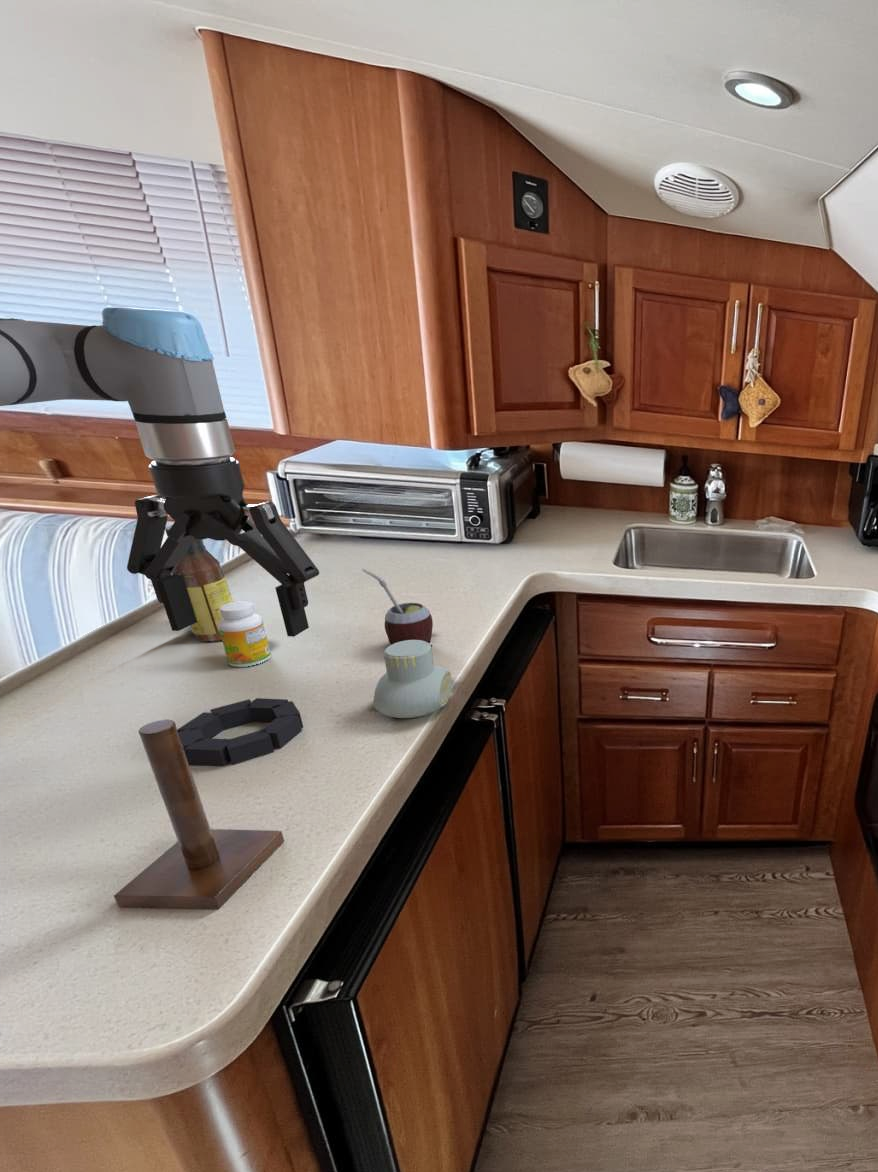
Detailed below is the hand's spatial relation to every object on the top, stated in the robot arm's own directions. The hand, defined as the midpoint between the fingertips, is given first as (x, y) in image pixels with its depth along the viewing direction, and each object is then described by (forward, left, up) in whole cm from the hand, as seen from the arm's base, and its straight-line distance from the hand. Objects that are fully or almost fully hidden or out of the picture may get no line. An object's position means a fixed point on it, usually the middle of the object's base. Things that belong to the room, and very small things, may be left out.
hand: (242, 629), depth 79 cm
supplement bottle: (-18, +21, -16) cm, 32 cm away
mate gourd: (+4, +27, -16) cm, 32 cm away
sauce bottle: (-29, +29, -16) cm, 44 cm away
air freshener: (+14, +9, -16) cm, 24 cm away
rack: (+9, -23, -16) cm, 30 cm away
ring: (-4, 0, -16) cm, 17 cm away
